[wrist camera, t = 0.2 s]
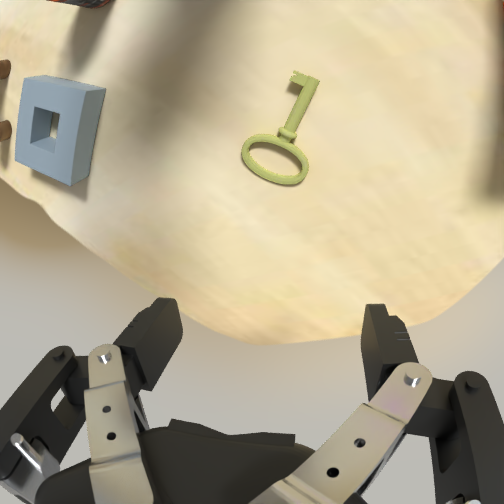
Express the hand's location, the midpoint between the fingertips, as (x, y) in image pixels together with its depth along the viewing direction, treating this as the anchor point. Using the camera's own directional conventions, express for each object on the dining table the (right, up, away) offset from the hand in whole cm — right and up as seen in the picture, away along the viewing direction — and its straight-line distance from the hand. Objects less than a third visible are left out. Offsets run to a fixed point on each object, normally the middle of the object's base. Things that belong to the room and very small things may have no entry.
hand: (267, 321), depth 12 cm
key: (+3, +15, +17) cm, 23 cm away
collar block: (-26, +20, +19) cm, 38 cm away
